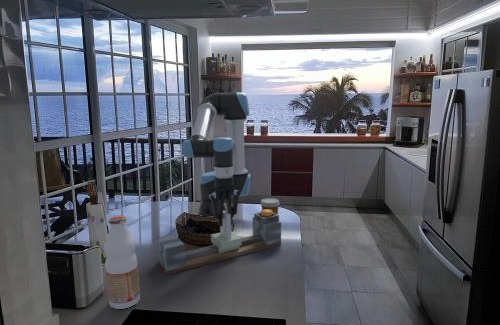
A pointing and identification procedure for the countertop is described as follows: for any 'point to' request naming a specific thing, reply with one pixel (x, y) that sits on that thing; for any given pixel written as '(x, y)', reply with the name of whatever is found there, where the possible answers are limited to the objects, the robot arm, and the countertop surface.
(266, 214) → the button
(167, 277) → the countertop surface
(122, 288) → the fruit juice
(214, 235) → the block
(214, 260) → the rail bench
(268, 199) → the disposable coffee cup
